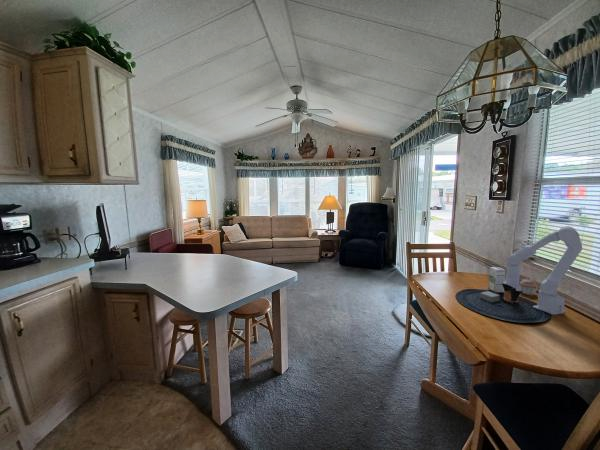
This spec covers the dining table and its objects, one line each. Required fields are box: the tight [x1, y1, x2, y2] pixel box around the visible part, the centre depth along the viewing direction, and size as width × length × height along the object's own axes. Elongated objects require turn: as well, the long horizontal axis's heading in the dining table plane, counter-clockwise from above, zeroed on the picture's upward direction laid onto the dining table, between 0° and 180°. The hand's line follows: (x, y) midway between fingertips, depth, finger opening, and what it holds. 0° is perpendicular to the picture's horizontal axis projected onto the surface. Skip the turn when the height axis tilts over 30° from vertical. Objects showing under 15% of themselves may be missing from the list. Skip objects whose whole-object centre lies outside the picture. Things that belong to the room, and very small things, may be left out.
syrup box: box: [488, 266, 506, 293], centre depth 159 cm, size 6×6×14 cm
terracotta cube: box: [503, 291, 519, 304], centre depth 145 cm, size 4×4×5 cm
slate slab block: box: [479, 290, 501, 303], centre depth 147 cm, size 6×6×4 cm
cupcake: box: [519, 277, 539, 296], centre depth 154 cm, size 9×9×10 cm
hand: (510, 298), depth 145 cm, fingers closed on terracotta cube, 6 cm apart
